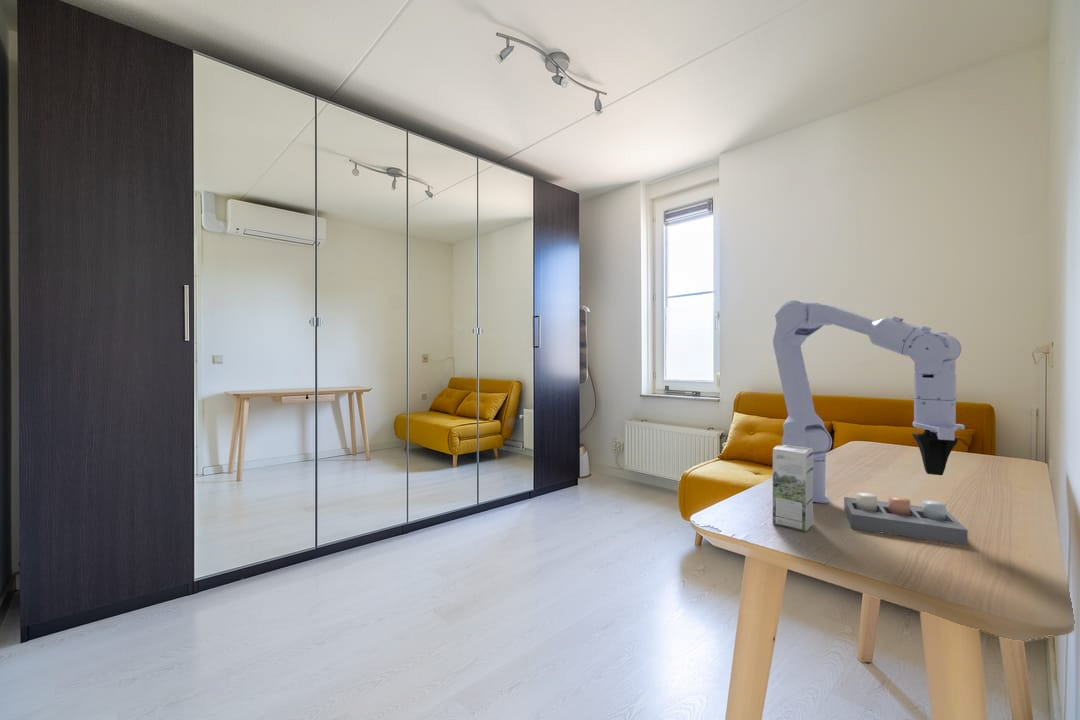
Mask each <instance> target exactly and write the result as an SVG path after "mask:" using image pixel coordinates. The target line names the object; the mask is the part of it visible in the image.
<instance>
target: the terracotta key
mask: <svg viewBox="0 0 1080 720" xmlns="http://www.w3.org/2000/svg"><path fill="white" fill-rule="evenodd" d="M887 502H888V512H889V513H891V514H896V515H904V516H910V505H911V499H909V498H906V497H903V496H893V495H892V496H890V495H889V496H888V501H887Z"/></svg>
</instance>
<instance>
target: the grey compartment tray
mask: <svg viewBox="0 0 1080 720" xmlns="http://www.w3.org/2000/svg"><path fill="white" fill-rule="evenodd" d="M843 500H844V501H843V503H844V505H843V509H844V512H845V515H846V518H847V520H848V523H849V525H850V528H851V529H852V530H853V529H854V530H859V531H860V530H861V531H866V532H867V531H868V532H873V531H874V533H879V532H883V533H882V534H886V533H891V534H890V535H893V534H897V535H896V536H899V535H904V536H903V537H906V536H909V537H908V538H913V537H914V539H919V538H920V539H921V540H926V541H933V542H941V543H947V544H955V545H960V546H967V547H968V534H969V533H968V529H967V528H966V527H965V526H964V525H963V524H961V522H960V521H959V520H957V519H956V518H955V517H954V516H953V515H952V514H951V513H950V512H948V510H946V520H945V521H941V520H934V519H927V518H924V517H923V516H922V505H913V504H910V516H904V515H896V514H891V513H889V512H888V502H889V501H881V500H877V511H876V512H874V511H866V510H859V509H857V508H856V497H848V496H844V498H843Z"/></svg>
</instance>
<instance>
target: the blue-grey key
mask: <svg viewBox="0 0 1080 720" xmlns="http://www.w3.org/2000/svg"><path fill="white" fill-rule="evenodd" d="M921 504H922V505H921V506H922V516H923V517H924V518H927V519H934V520H941V521H945V520H946V511H947V510H946V509H947V507H946V506H947V505H946V504H945V503H944V502H939V501H936V500H931V499H930V500H928V499H926V500H922V503H921Z"/></svg>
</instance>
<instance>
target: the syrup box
mask: <svg viewBox="0 0 1080 720" xmlns="http://www.w3.org/2000/svg"><path fill="white" fill-rule="evenodd" d="M813 503H814V502H813V448H805V447H797V446H788V445H782V444H778V445H775V446H774V447H773V448H772V524H773V525H775V526H779V527H785V528H788V529H792V530H797V531H801V532H807V531H808V530H809V529H810V528H811V526H812V525H813V523H814V509H813V507H814V506H813V505H814V504H813Z"/></svg>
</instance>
